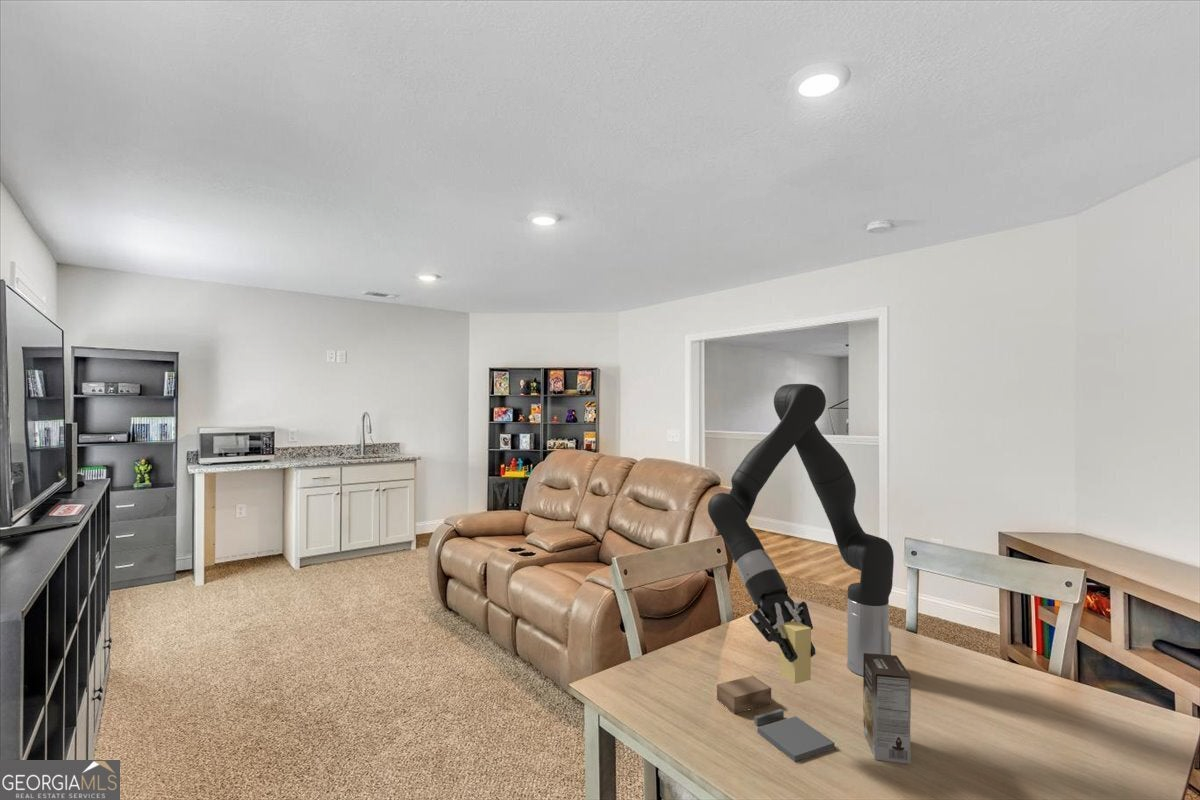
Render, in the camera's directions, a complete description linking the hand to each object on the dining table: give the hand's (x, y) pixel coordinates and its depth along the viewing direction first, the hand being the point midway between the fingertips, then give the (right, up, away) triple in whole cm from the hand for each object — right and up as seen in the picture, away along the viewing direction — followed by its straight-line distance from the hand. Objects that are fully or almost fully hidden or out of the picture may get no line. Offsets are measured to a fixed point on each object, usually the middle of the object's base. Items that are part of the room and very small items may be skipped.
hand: (802, 657), depth 108 cm
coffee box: (+16, -17, -1) cm, 23 cm away
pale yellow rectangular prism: (-1, -5, +2) cm, 5 cm away
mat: (-1, -17, +2) cm, 17 cm away
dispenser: (-6, -17, +13) cm, 22 cm away
